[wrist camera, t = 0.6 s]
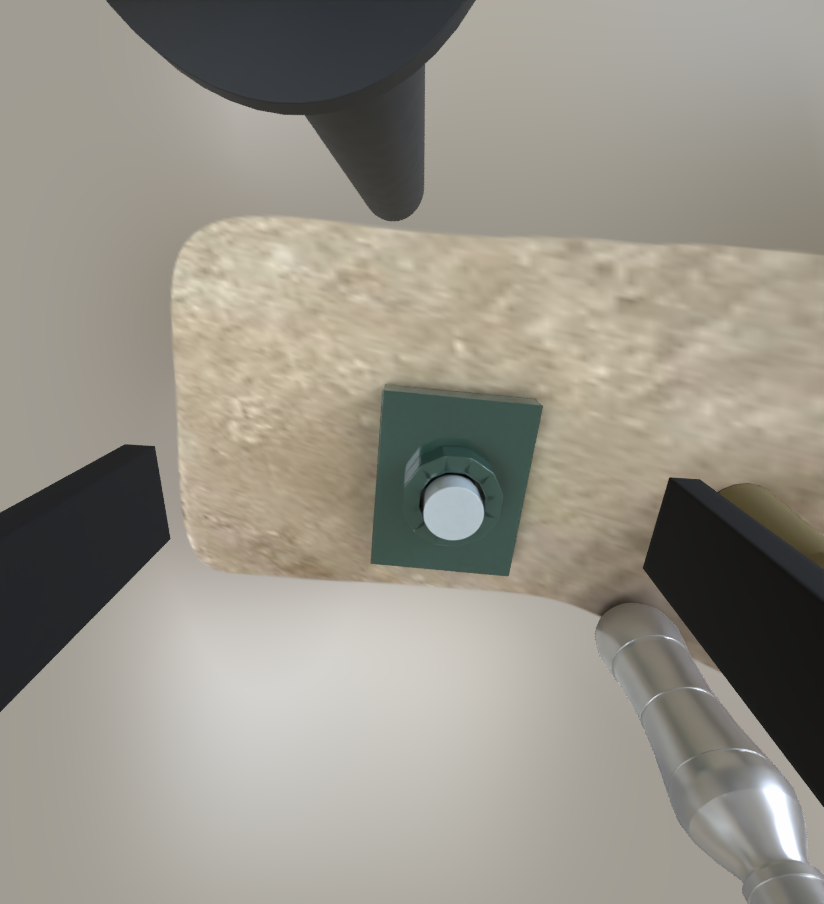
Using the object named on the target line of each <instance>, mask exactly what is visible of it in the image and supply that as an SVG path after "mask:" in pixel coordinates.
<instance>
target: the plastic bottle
mask: <svg viewBox="0 0 824 904" xmlns="http://www.w3.org/2000/svg"><path fill="white" fill-rule="evenodd" d="M595 640H596V644H597V648H598V652H599V656H600V657H601V659H602V661H603V663H604V664H605V666H606V667H607V669H608V670H609V672H610V673H611V675H612V676H613V677H614V678H615V680H617V682H618V683H619V684H620V686H621V688H622V690H623V691H624V693H625V695H626V696H627V698H628V700H629V701H630V703H631V705H632V706H633V708H634V710H635V711H636V713H637V715H638V717H639V720H640V722H641V724H642V726H643V728H644V730H645V734H646V736H647V738H648V740H649V743H650V745H651V747H652V750H653V752H654V755H655V758H656V761H657V763H658V766H659V769H660V772H661V775H662V778H663V781H664V784H665V787H666V790H667V793H668V796H669V798H670V802H671V805H672V807H673V810H674V812H675V815H676V817H677V819H678V821H679V823H680V825H681V826H682V828H683V829H684V830H685V831H686V833H687V834H688V835H689V837H690V838H691V839H692V841H693V842H694V843H695V844H696V845H697V846H698V847H699V848H700V849H701V850H703V851H704V852H705V853H706V854H707V855H708V856H710V857H711V858H712V859H713V860H714V861H716V862H717V863H718V864H719V865H721V866H722V867H723V868H725V869H726V870H727V871H729V872H730V873H732V874H733V875H734V876H736V877H737V878H738V879H740V880H741V881H742V883H743V887H742V894H743V895H744V897H745V899H746V901H747V903H748V904H824V874H823V873H822V872H821V871H820V870H819V869H817V868H815V867H813V866H811V865H810V864H809V862H808V841H807V830H806V824H805V817H804V812H803V810H802V807H801V805H800V802H799V800H798V798H797V795H796V793H795V791H794V789H793V787H792V786H791V784H790V783H789V782H788V781H787V779H786V778H785V777H784V776H783V775H782V773H781V772H780V771H779V769H778V768H777V767H776V766H775V765H774V764H773V763H772V762H771V761H770V759H769V758H768V757H767V756H766V755H765V754H764V753H763V752H762V751H761V750H760V748H759V747H758V746H757V745H756V744H755V743H754V742H753V741H752V740H751V739H750V737H749V736H748V735H747V734H746V733H745V732H744V731H743V730H742V729H741V728H740V726H739V725H738V724H737V723H736V722H735V720H734V719H733V718H732V716H731V715H730V714H729V713H728V711H727V710H726V709H725V707H724V706H723V705H722V704H721V703H720V701H719V700H718V698H717V697H716V696H715V694H714V693H713V692H712V691H711V689H710V688H709V686H708V684H707V683H706V681H705V679H704V678H703V676H702V674H701V673H700V671H699V669H698V668H697V666H696V664H695V662H694V661H693V659H692V657H691V656H690V653H689V650H688V648H687V646H686V643H685V641H684V639H683V637H682V636H681V634H680V632H679V630H678V628H677V627H676V626H675V624H674V623H673V622H672V621H671V620H670V619H669V618H668V617H666V616H665V615H664V614H663V613H662V612H661V611H659V610H658V609H656V608H654V607H652V606H648V605H645V604H641V603H624V604H620V605H617V606H614V607H613V608H611V609H609V610H608V611H607V612H605V613H604V615H603V616H602V617H601V619H600V620H599V623H598V625H597V627H596V631H595Z"/></svg>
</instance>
